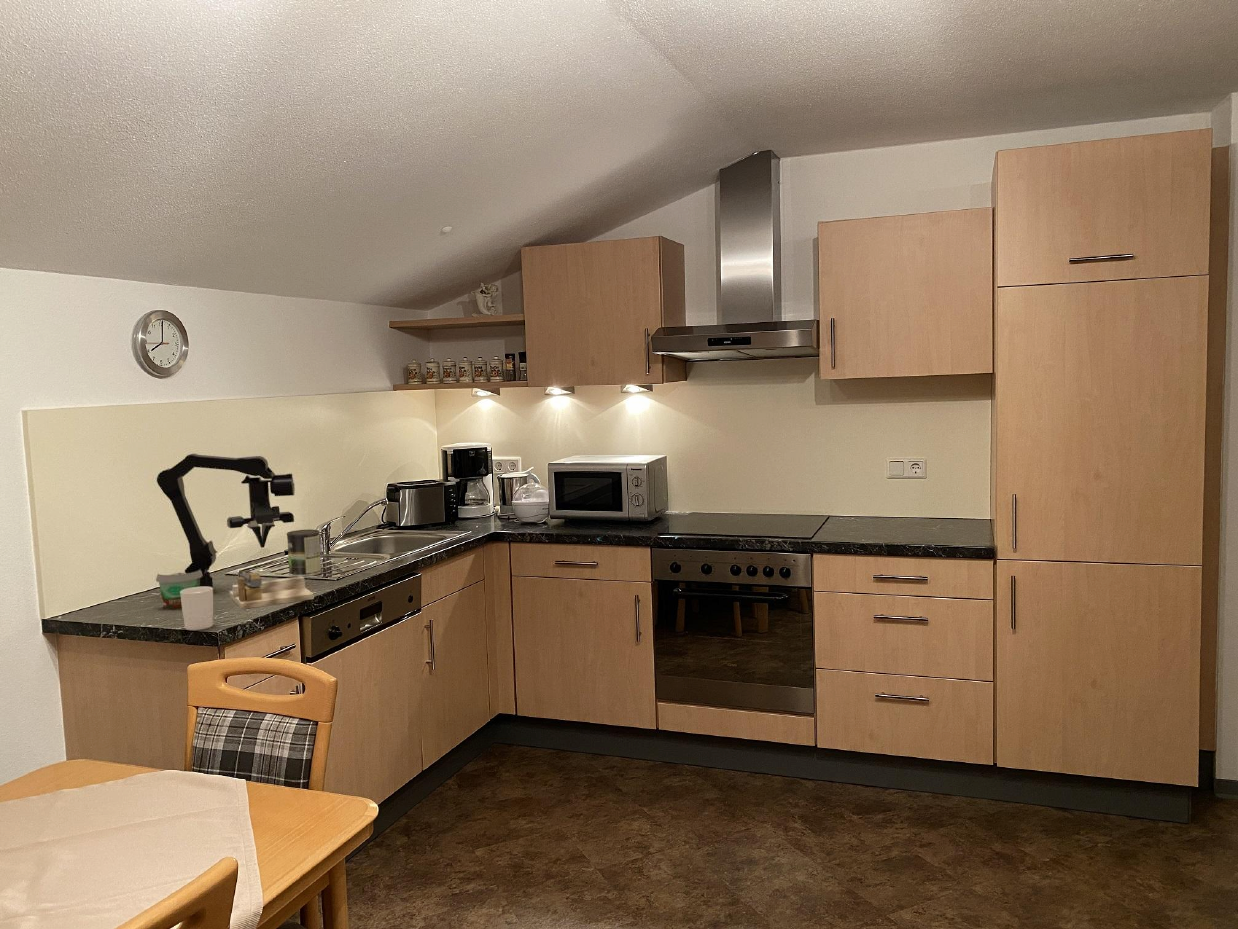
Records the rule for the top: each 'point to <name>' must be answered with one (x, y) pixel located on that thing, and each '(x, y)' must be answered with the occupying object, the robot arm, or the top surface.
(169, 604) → the food container
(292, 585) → the wooden base tray
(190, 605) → the white cup
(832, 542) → the top surface
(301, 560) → the coffee can
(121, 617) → the top surface
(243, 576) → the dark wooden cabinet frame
